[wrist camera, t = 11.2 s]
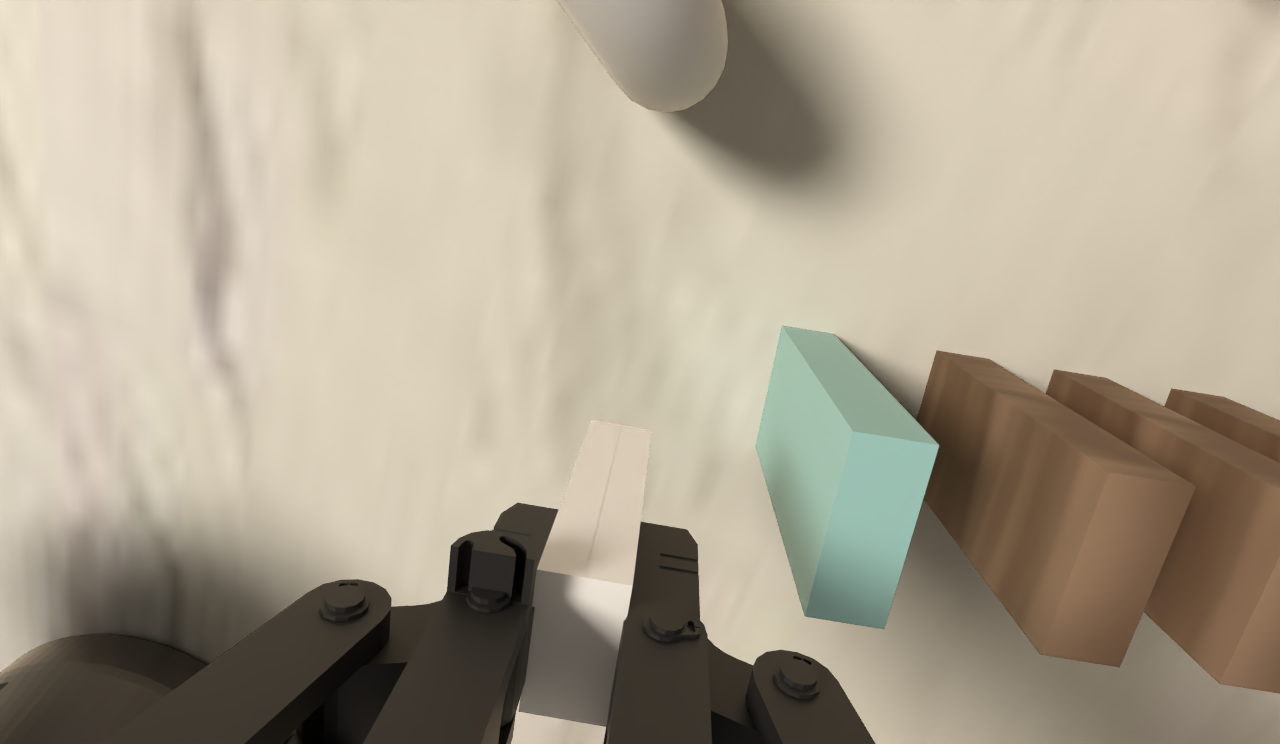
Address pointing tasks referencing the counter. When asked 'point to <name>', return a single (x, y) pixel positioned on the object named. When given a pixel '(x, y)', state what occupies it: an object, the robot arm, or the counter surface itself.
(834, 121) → the counter surface
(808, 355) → the tile
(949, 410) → the domino
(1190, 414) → the domino
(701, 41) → the donut
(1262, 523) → the domino
